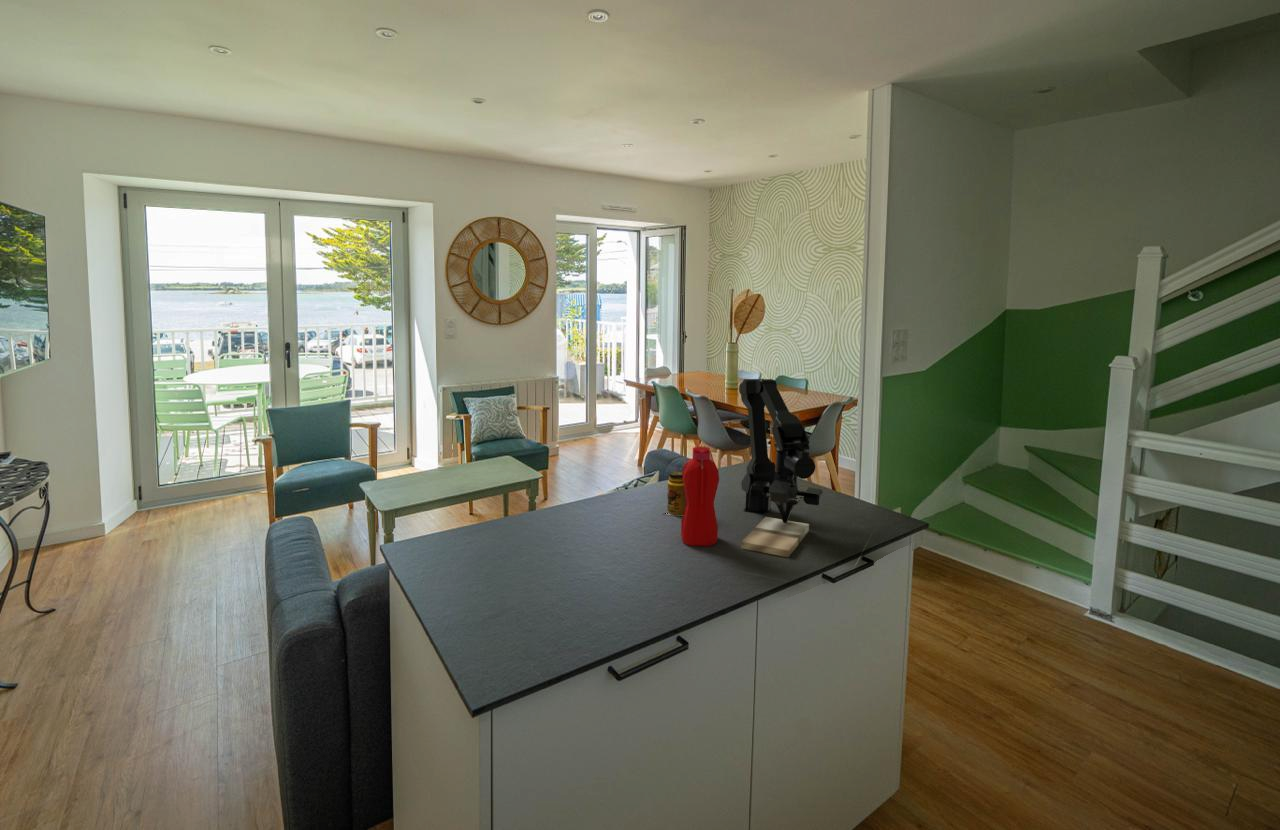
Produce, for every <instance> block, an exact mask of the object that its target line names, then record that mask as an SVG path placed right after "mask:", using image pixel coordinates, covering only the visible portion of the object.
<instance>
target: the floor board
mask: <svg viewBox="0 0 1280 830" xmlns="http://www.w3.org/2000/svg"><path fill="white" fill-rule="evenodd" d="M799 545H800V542H799V537H794V536H788V535H783V534H777V533H772V532H766V531H760V530H755V529H753V530H752V531H751V532H750V533H749V534H748V535H747V536H746V537H744V539H743V540H741V545H740V548H741V549H743V550H748V551H754V552H758V553H759V552H760V553H764V554H769V555H775V556H780V557H785V558H789V557H790V556H791V554H793V552H794V551H795V550H796V548H797V547H798V546H799Z"/></svg>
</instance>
